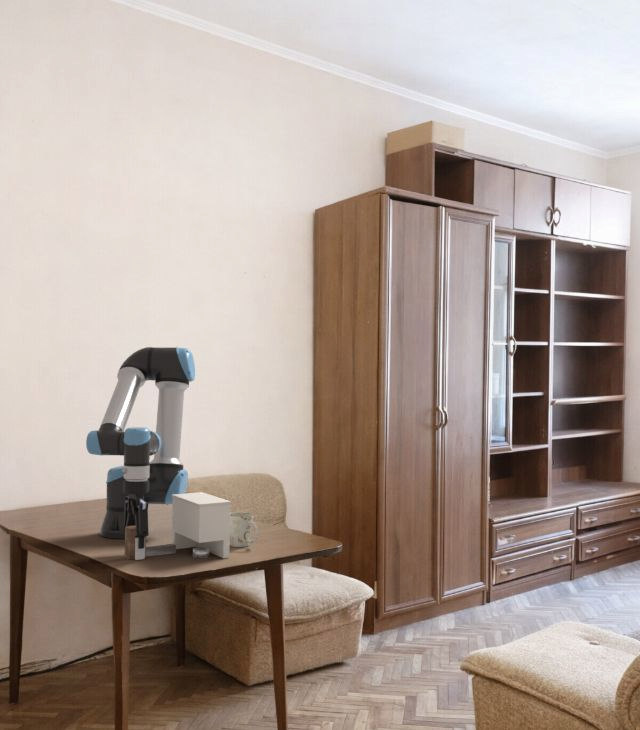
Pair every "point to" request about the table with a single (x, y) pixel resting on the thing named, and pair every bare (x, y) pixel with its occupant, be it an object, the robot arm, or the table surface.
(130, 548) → the blade tool
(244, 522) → the mug
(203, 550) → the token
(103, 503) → the table surface
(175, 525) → the cabinet
